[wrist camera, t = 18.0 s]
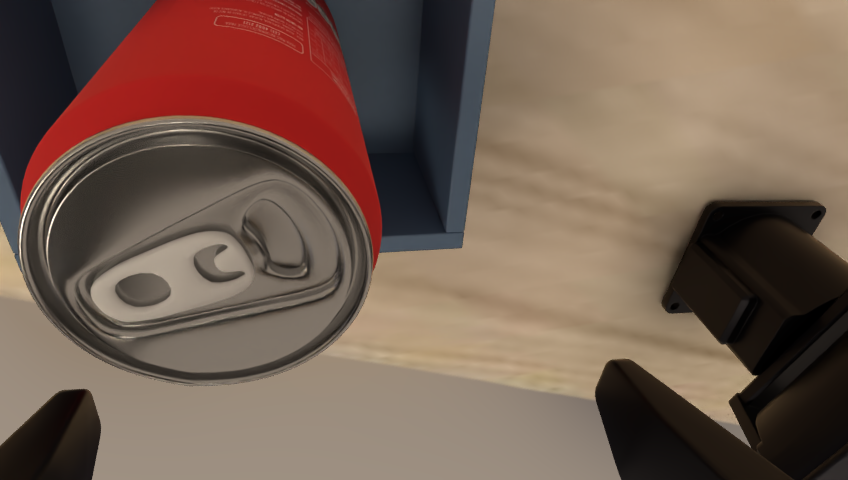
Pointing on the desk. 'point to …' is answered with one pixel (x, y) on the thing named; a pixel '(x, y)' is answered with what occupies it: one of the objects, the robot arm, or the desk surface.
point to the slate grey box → (368, 74)
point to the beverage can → (206, 197)
